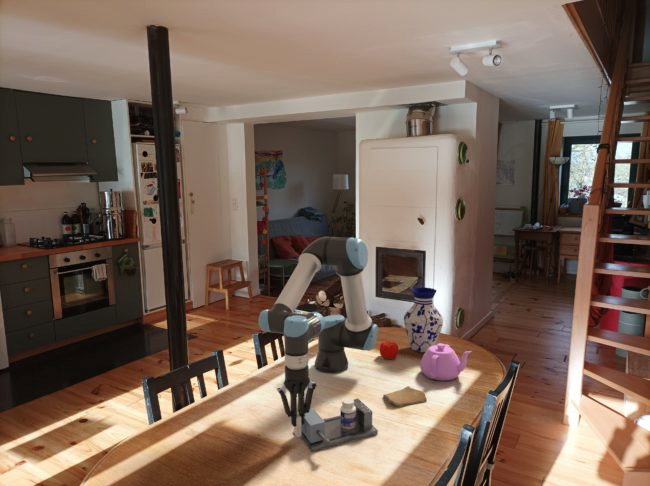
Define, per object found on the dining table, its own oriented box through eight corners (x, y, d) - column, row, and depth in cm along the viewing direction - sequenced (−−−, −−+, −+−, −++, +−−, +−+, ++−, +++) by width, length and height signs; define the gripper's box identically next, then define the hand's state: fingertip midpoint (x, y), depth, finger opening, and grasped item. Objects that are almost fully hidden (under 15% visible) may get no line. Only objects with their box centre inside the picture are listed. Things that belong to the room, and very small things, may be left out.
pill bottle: (339, 421, 163) (339, 397, 161) (354, 420, 163) (354, 396, 162) (341, 429, 157) (341, 404, 156) (356, 429, 158) (356, 404, 156)
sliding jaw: (299, 427, 158) (299, 411, 157) (312, 424, 160) (312, 408, 159) (320, 456, 142) (320, 437, 141) (335, 451, 144) (335, 433, 143)
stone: (428, 402, 180) (428, 394, 179) (392, 409, 174) (392, 401, 174) (412, 390, 190) (412, 382, 189) (378, 396, 184) (378, 389, 184)
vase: (395, 349, 233) (396, 290, 228) (416, 339, 246) (417, 283, 242) (429, 359, 220) (431, 297, 215) (449, 348, 234) (451, 289, 229)
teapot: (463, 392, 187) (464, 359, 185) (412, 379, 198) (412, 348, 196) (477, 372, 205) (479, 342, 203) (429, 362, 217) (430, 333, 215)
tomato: (385, 352, 229) (385, 337, 228) (401, 356, 224) (401, 341, 223) (375, 358, 221) (375, 343, 220) (392, 363, 216) (392, 347, 215)
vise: (295, 430, 160) (295, 409, 159) (357, 415, 170) (357, 395, 169) (311, 452, 147) (311, 429, 146) (377, 434, 157) (377, 413, 156)
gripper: (281, 373, 143) (282, 445, 146) (320, 365, 148) (320, 435, 152) (273, 364, 150) (275, 433, 153) (311, 357, 155) (311, 424, 158)
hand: (297, 434), depth 152 cm, fingers closed
